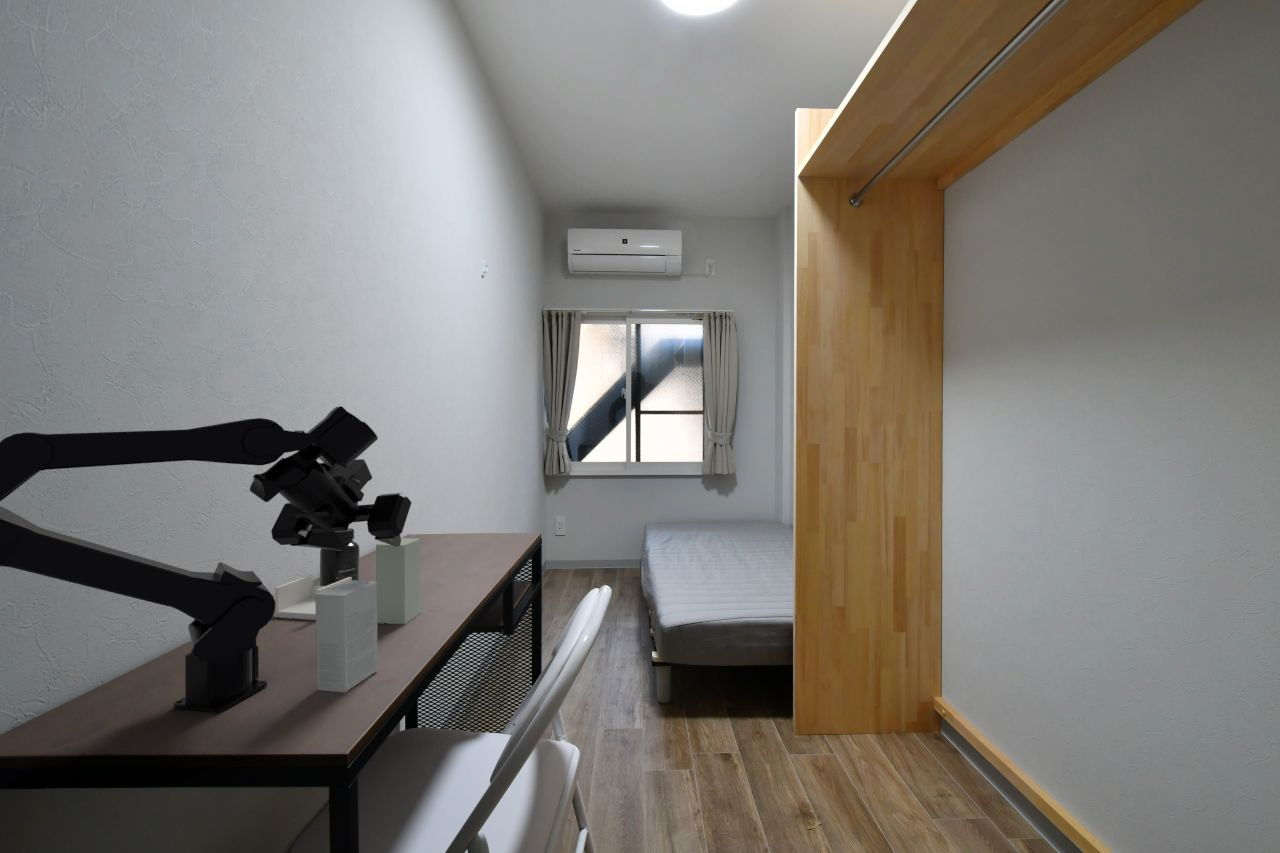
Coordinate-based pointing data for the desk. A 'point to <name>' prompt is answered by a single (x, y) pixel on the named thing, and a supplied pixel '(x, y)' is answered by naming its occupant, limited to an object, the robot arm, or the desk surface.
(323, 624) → the skincare box
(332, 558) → the supplement bottle
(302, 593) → the tray
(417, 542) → the sage ceramic block
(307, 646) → the desk surface
